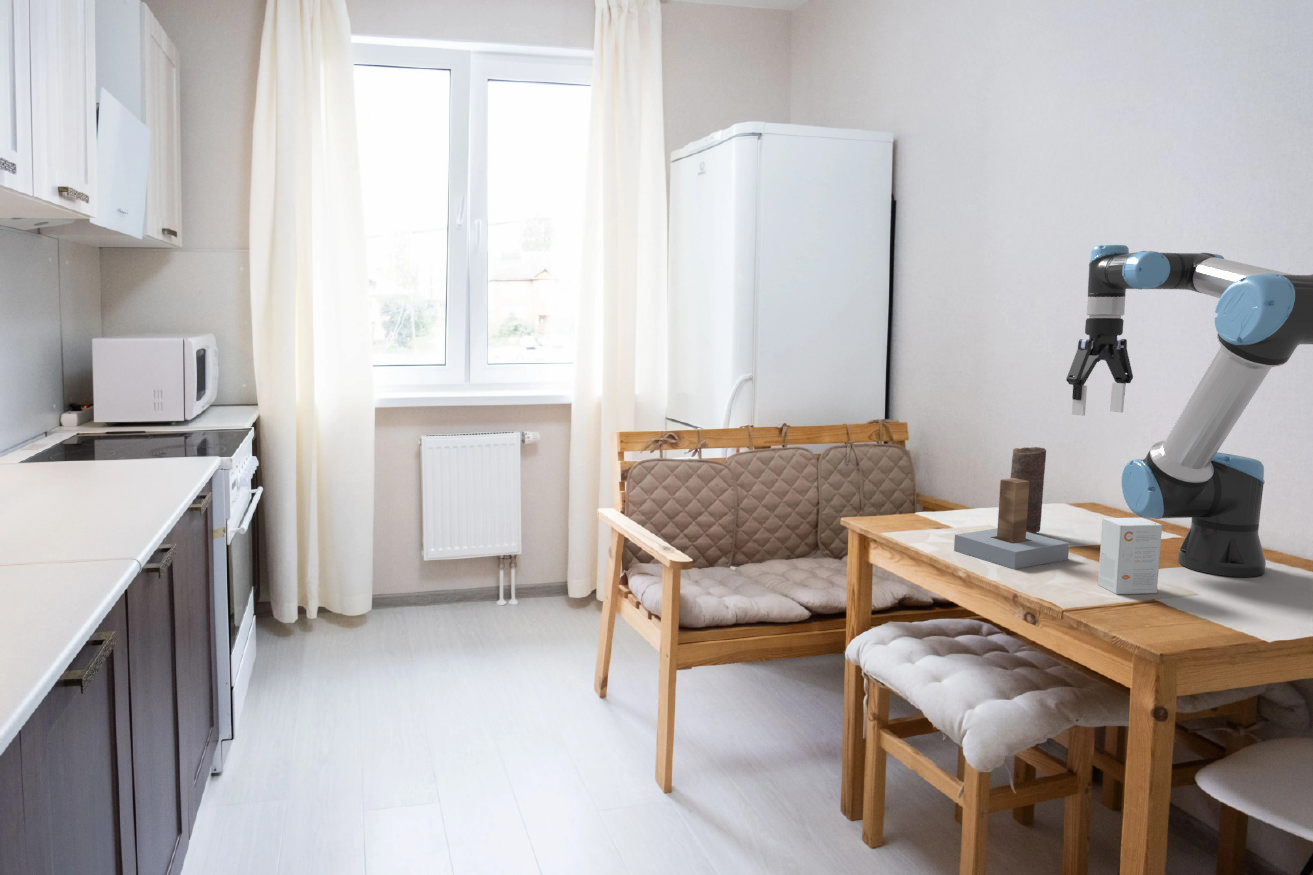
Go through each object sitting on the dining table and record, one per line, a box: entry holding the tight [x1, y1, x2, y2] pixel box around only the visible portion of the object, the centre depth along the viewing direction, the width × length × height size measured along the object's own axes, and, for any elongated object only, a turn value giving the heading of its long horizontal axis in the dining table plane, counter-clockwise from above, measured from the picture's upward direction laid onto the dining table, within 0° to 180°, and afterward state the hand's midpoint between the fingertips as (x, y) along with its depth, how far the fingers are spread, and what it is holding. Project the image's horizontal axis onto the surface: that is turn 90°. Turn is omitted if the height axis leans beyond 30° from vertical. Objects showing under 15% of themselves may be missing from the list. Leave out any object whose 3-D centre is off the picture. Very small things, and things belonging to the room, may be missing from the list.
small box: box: [1097, 517, 1163, 595], centre depth 174 cm, size 8×6×13 cm
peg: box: [997, 477, 1029, 544], centre depth 198 cm, size 4×4×16 cm
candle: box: [1010, 446, 1047, 534], centre depth 216 cm, size 8×7×20 cm
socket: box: [953, 527, 1070, 570], centre depth 198 cm, size 16×16×4 cm
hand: (1097, 413), depth 209 cm, fingers open, 13 cm apart
